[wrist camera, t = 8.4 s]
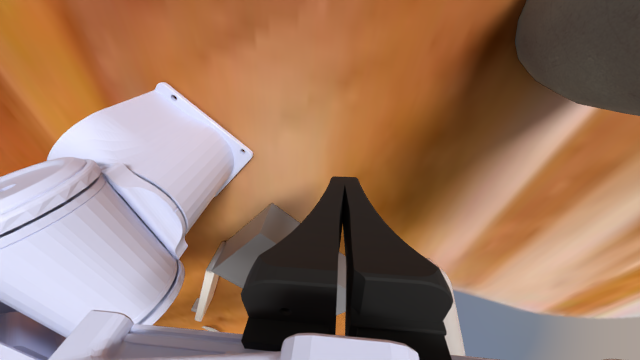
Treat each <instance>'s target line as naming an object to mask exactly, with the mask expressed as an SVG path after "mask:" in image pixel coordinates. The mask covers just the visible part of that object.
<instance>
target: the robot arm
mask: <svg viewBox="0 0 640 360" xmlns="http://www.w3.org/2000/svg"><path fill="white" fill-rule="evenodd" d="M174 95H175V96H176V98H177V100H176V99H175V98H174ZM241 149H243V150H244V151H245V152H242V150H241ZM252 157H253V152H252V151H251V150H250V149H249V148H247V147H246V146H245V145H244V144H242V143H241V142H240V141H239V140H237V139H236V138H235V137H234V136H232V135H231V134H230V133H229V132H227V131H226V130H225V129H224V128H222V127H221V126H220V125H219V124H217V123H216V122H215V121H214V120H212V119H211V118H210V117H209V116H207V115H206V114H205V113H204V112H202V111H201V110H200V109H199V108H197V107H196V106H195V105H193V104H192V103H191V102H190V101H188V100H187V99H186V98H185V97H183V96H182V95H181V94H180V93H178V92H177V91H176V90H175V89H173V88H172V87H171V86H170V85H168V84H167V83H165V82H161V83H158V84H157V86H156V88H155V90H154V91H151V92H148V93H146V94H143V95H140V96H138V97H135V98H132V99H130V100H127V101H124V102H121V103H119V104H116V105H113V106H111V107H108V108H105V109H103V110H100V111H98V112H95V113H93V114H91V115H89V116H88V117H86V118H84V119H83V120H81V121H80V122H78V123H77V124H75V125H74V126H73V127H71V128H70V129H69V130H68V131H66V132H65V133H64V134H63V135H62V136H61V137H60V138H59V139H58V141H57V142H56V143H55V145H54V146H53V148H52V149H51V151H50V153H49V155H48V158H47V161H45V162H42V163H39V164H35V165H32V166H29V167H26V168H23V169H20V170H18V171H15V172H12V173H10V174H7V175H4V176H2V177H0V360H498V359H487V358H478V357H468V356H458V355H450V352H449V349H448V346H447V342H446V339H445V336H446V335H447V331H446V328H445V325H444V322H443V320H444V319H445V317H446V315H447V314H448V312H449V310H450V309H451V307H452V304H453V297H452V294H451V291H450V288H449V286H448V284H447V282H446V280H445V278H444V276H443V274H442V272H441V271H440V269H439V267H438V266H436V265H435V264H433V263H432V262H430V261H429V260H428V259H426V258H425V257H423V256H422V255H420V254H419V253H418V252H416V251H415V250H414V249H413V248H411V247H410V246H409V245H408V244H406V243H405V242H404V241H403V240H402V239H401V238H400V237H399V236H398V235H397V234H395V233H394V232H393V231H392V229H391V228H390V227H389V226H388V225H387V224H386V223H385V222H384V221H383V219H382V218H381V217H380V216H379V214H378V213H377V212H376V210H375V209H374V208H373V206H372V205H371V203H370V202H369V200H368V198H367V197H366V195H365V193H364V191H363V189H362V187H361V185H360V183H359V181H358V179H357V178H356V177H332V178H331V180H330V183H329V185H328V187H327V189H326V191H325V193H324V194H323V196H322V198H321V199H320V201H319V202H318V203H317V205H316V206H315V207H314V209H313V210H312V211H311V213H310V214H309V215H308V216H307V217H306V218H305V219H304V221H303V222H302V223H301V224H300V225H298V226H297V227H296V228H295V229H294V230H293V231H292V232H291V233H290V234H288V235H287V236H286V237H285V238H283V239H282V240H281V241H280V242H278V243H277V244H276V245H274V246H273V247H271V248H270V249H268V250H267V251H265V252H263V253H262V254H260V255H259V256H258V257H257V259H256V261H255V262H254V264H253V266H252V268H251V270H250V271H249V274H248V276H247V279H246V281H245V284H244V287H243V290H242V292H241V297H242V301H243V303H244V306H245V308H246V311H247V314H248V316H249V318H248V321H247V324H246V327H245V330H244V333H243V334H234V333H224V332H214V331H204V330H194V329H183V328H173V327H163V326H153V324H154V323H155V322H156V321H157V320H158V319H159V318H160V317H161V316H162V315H163V314H164V313H165V312H166V311H167V309H168V308H169V307H170V305H171V304H172V303H173V301H174V300H175V298H176V297H177V295H178V293H179V291H180V289H181V287H182V284H183V281H184V276H185V269H184V266H183V263H182V262H181V261H180V260H179V259H180V257H181V256H182V254H183V253H184V251H185V250H186V248H187V247H188V245H187V243H186V241H185V235H186V234H187V233H188V231H189V230H190V228H191V227H192V226H193V224H194V223H195V222H196V220H197V219H198V218H199V216H200V215H201V214H202V212H203V211H204V210H205V208H206V207H207V206H208V204H209V203H210V201H211V200H212V199H213V197H216V196H217V195H218V194H219V193H220V192H221V190H222V189H223V188H224V187H225V186H226V185H227V184H228V183H229V182H230V181H231V180H232V179H233V178H234V176H235V175H236V174H237V173H238V172H239V171H240V170H241V169H242V168H243V167H244V166H245V165H246V164H247V162H248V161H249V160H250V159H251V158H252ZM342 224H343V231H344V243H345V254H346V319H345V336H339V335H335V328H336V306H337V283H338V255H339V247H340V240H341V232H342ZM605 360H620V359H605Z"/></svg>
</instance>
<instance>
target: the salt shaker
mask: <svg viewBox="0 0 640 360" xmlns="http://www.w3.org/2000/svg"><path fill="white" fill-rule="evenodd" d="M426 259H428V260H429V261H430V262H432V263H433V264H435V263H434V262H433V261H431V260H430V259H429V258H426ZM435 265H436V264H435ZM436 266H437V265H436ZM439 269H440V271H441V272H442V274H443V276H444V278H445V280H446V282H447V284H448V286H449V288H450V291H451V294H452V297H453V304H452V307H451V309H450V310H449V312H448V314H447V315H446V317H445V319H444V320H443V322H444V325H445V328H446V331H447V335H446V336H445V339H446V342H447V346H448V349H449V352H450V355H458V356H466V355H465V350H464V346H463V340H462V335H461V330H460V325H459V320H458V315H457V310H456V305H455V300H454V295H453V290H452V284H451V281H450V280H449V278H448V276H447V275H446V273H445V272H444V271H443V270H442V269H441V268H439Z"/></svg>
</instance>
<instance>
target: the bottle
mask: <svg viewBox="0 0 640 360" xmlns="http://www.w3.org/2000/svg"><path fill="white" fill-rule="evenodd" d="M515 45H516V50H517V55H518V59H519V61H520V62H521V63H522V65H523V66H524V67H525V69H526V70H527V71H528V73H529V74H530V75H531V76H532V77H533V78H534V79H535V81H537V82H539V83H541V84H542V85H544V86H546V87H547V88H549V89H551V90H553V91H554V92H556V93H558V94H560V95H562V96H564V97H566V98H568V99H570V100H572V101H574V102H576V103H578V104H582V105H587V106H592V107H596V108H601V109H606V110H611V111H616V112H621V113H626V114H632V115H637V116H640V0H527V1H526V3H525V6H524V8H523V10H522V13H521V15H520V17H519V20H518V25H517V31H516V38H515Z"/></svg>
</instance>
